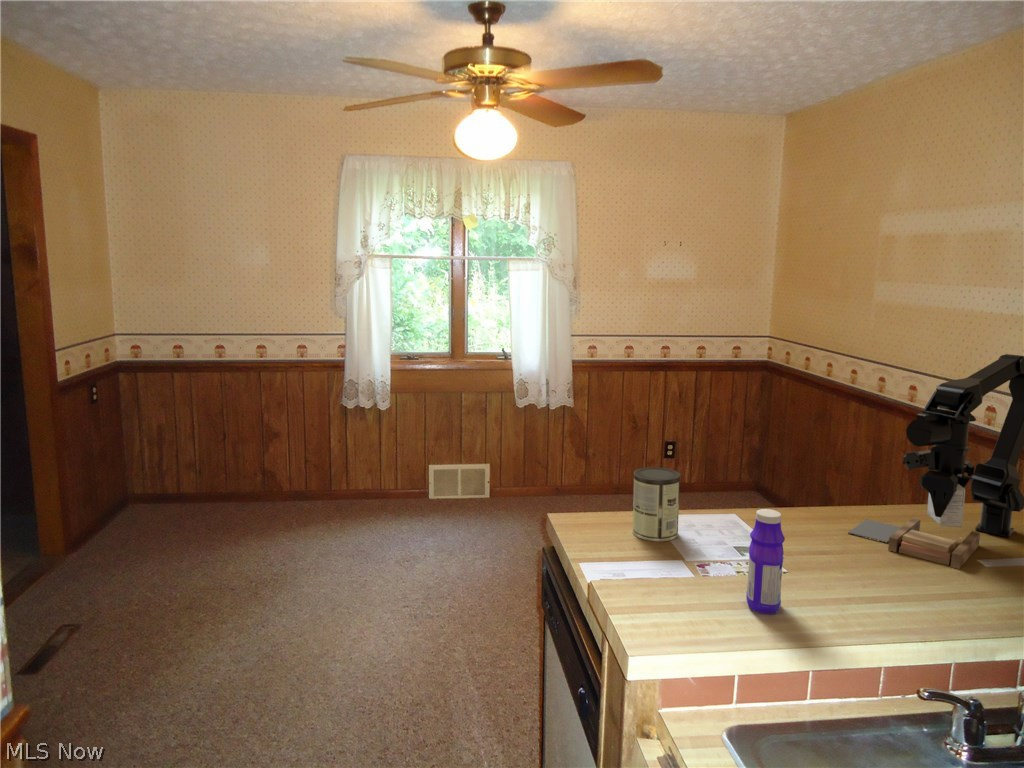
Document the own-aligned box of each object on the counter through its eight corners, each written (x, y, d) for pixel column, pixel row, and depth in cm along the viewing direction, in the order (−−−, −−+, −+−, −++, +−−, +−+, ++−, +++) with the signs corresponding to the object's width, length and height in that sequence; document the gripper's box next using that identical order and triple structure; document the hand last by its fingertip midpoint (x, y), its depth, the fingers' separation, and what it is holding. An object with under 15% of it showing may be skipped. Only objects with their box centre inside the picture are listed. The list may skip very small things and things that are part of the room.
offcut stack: (907, 544, 148) (908, 528, 148) (956, 557, 142) (958, 540, 141) (898, 553, 144) (899, 536, 143) (948, 566, 137) (950, 549, 137)
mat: (866, 520, 163) (866, 519, 163) (903, 529, 157) (903, 527, 157) (848, 533, 154) (848, 532, 154) (886, 543, 149) (886, 541, 149)
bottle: (782, 618, 116) (788, 521, 113) (747, 614, 118) (752, 517, 115) (777, 599, 123) (784, 507, 120) (744, 595, 124) (750, 504, 122)
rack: (912, 530, 157) (913, 517, 156) (978, 545, 148) (980, 532, 147) (888, 550, 145) (889, 537, 144) (959, 569, 136) (960, 554, 135)
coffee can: (641, 522, 162) (643, 464, 159) (684, 530, 156) (686, 471, 154) (624, 535, 153) (626, 475, 151) (668, 545, 147) (671, 482, 145)
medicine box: (962, 528, 145) (966, 488, 144) (939, 526, 146) (943, 487, 145) (948, 515, 153) (951, 478, 151) (926, 513, 154) (929, 476, 152)
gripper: (921, 429, 159) (915, 493, 161) (896, 443, 146) (889, 513, 148) (978, 437, 151) (970, 505, 153) (956, 452, 138) (948, 526, 140)
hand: (943, 511), depth 149 cm, fingers closed on medicine box, 9 cm apart
